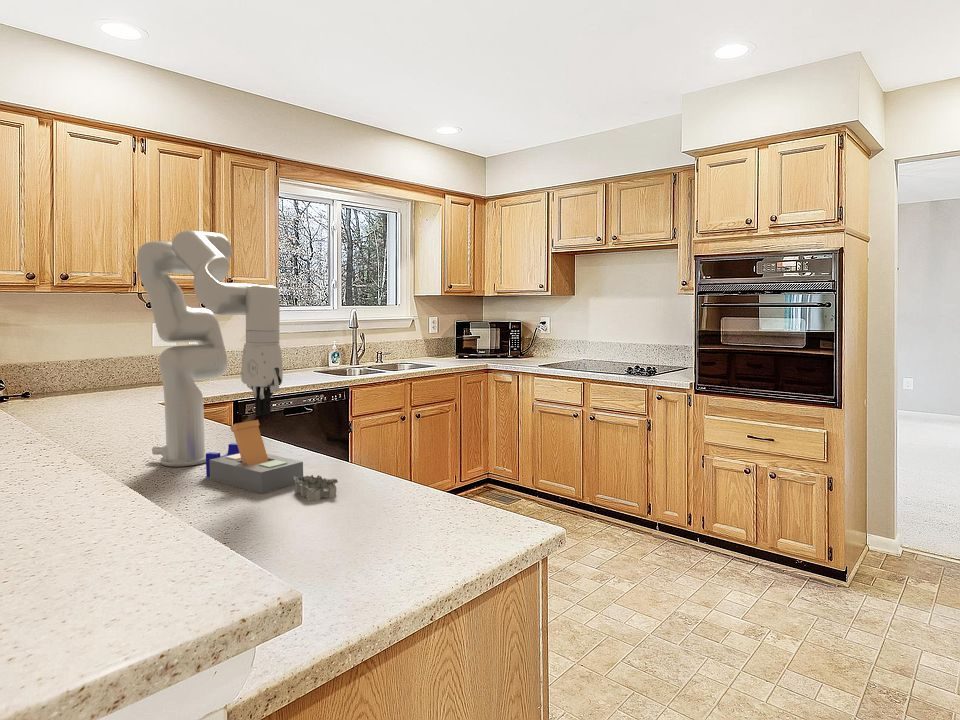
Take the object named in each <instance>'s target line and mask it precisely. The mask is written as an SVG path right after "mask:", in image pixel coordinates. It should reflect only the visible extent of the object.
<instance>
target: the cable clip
mask: <svg viewBox="0 0 960 720" xmlns="http://www.w3.org/2000/svg"><path fill="white" fill-rule="evenodd" d="M205 453H206V462H205V469H206V470H205V472H206V473H205V474H206V475H205V477H206V478H210V464H209V460H210V459H215V458H219V457H224V456H229V455H233V454H238V453H240V452H239V449H238V446H237V442H236V443H235V442H232V443H229V444H228V449H227V453H225V454H223V455H221V452H211V451H209V452H205Z"/></svg>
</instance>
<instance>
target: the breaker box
mask: <svg viewBox="0 0 960 720" xmlns="http://www.w3.org/2000/svg"><path fill="white" fill-rule="evenodd" d="M266 454H267V457H268V460H269V461H268V462H264V463H260V464H255V465H248V464H244V463H242V459H241V456H240V453H238V454H233V455H229V456H224V457H219V458H215V459H210V460H209V464H210V477H209V480H210V481H213V482H218V483H221V484H224V485H227V486H231V487H235V488H239V489H243V490H246V491H250V492H253V493H256V494H260V495H263V494H265V493H266V494H267V493H270V492H272V491H276V490H280V489H283V488H287V487H291V486H293V485H294V486H295V480H294V476H295V477H302V476H304V461H302V460H297V459H292V458H287V457H284V456H278V455H273V454H269V453H266Z"/></svg>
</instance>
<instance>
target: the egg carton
mask: <svg viewBox="0 0 960 720" xmlns="http://www.w3.org/2000/svg"><path fill="white" fill-rule="evenodd" d="M294 480H295V484H294V486H295V487H294V489H295V490H294V491H295V493H299V494H300V496H301V497H306V500H308V501H320V500H321V498H322V497H323V498H329V497H330V498H335V496H336V495H337V485H336V484H338V483H339V482H338V479H337V478H325V477H324V478H323V477H322V475H319V474H318V475H317V476H316V477H315V476H314V475H313V474H311V475H305V476H304V475H303V476H302V477H295V476H294ZM319 488H320V489H319Z"/></svg>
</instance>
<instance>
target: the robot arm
mask: <svg viewBox="0 0 960 720" xmlns="http://www.w3.org/2000/svg"><path fill="white" fill-rule="evenodd" d="M232 250H233V248H232V245H231V242H230V241H229V239H228V238H227V237H226V236H225V235H223V234H221V233H218V232H210V231H200V230H184V231H180V232H178V233H177V234H176V235H174V236H173V238H172V241H166V240H165V241H164V240H155V241H154V240H153V241H148V242H145V243H143V244H142V245H141V246H140V247H139V249H138V250H137V254H136V268H137V273H138V276H139V278H140V281H141V283H142V285H143V287H144V289H145V291H146V293H147V296H148V299H149V302H150V307H151V311H152V315H153V319H154V323H155V327H156V330H157V331H156V332H157V333H158V336H159V338H160V340H162V341H163V342H166V343H171V344H172V343H176V344H177V343H197V344H195V345H194V344H192V345H191V344H190V345H189V344H187V345H175V346H172V347H167V348H166V349H164V350H163V351H162V352H161V353H160V355H159V358H158V368H159V372H160V376H161V381H162V387H163V397H164V398H163V400H164V402H163V403H164V421H165V427H164V428H165V445H164V446H153V447H152V448H151V452H152V455H156V456H158V455H161V456H162V457H161V458H160V460H159V461H160V462H159V463H160V465H162V466H165V467H176V468H177V467H193V466H196V465H197V466H198V465H202V464H206V453H207V452H206V446H205V445H206V444H205V415H204V397H203V392H202V391H201V390H200V388H199V387H198V386H197V384H196V383H195V381H199V380H206V379H207V380H208V379H216V378H220V377H222V376H223V375H224V374H225V373H226V372H227V370H228V366H229V365H228V364H229V363H228V355H227V352H226V351H227V350H226V347H225V343H224V339H223V334H222V331H221V327H220V323H219V319H218V318H217V316H216V315H219V316H231V315H232V316H235V315H237V316H239V315H240V316H245V342H244V345H243V349H242V357H241V369H240V370H241V371H240V374H241V382H242V383H243V384H244V385H246V387H247V388H248V389H250V390H252V393H253V394H252V395H253V398H255V400H254V411H255V412H254V414H255V416H256V415H257V416H266V415H271V412H272V411H271V409H272V406H271V404H272V403H271V402H272V401H271V400H272V399H271V398H273V394H274V393H278V392H280V390H281V389H280V385H282V384H283V378H284V376H283V375H284V374H283V373H284V372H283V369H284V368H283V357H282V349H281V345H280V337H281V336H280V321H281V320H280V318H281V317H280V308H281V307H280V290H279V288H278V287H276V286H274V285H266V284H265V285H263V284H262V285H261V284H260V285H259V284H253V283H241V282H240V283H238V282H237V283H236V282H222V281H223V280H224V279H225V278H226V277H227V275H228V273H229V271H230V262H229V261H230V260H231V258H232V253H233V251H232ZM169 274H177V275H193V280H192V281H193V283H192V284H193V290H194V294H195V296H196V298H197V300H198V301H199V302H200V303H201V304H202V305H203V306H204V307H189V306H188V305H187V303H186V300H185V295H184V291H183V290H182V288H181V287H180V285H179V284H178V283H177V282H176V281H175V280H174V279H173V278H171V277H170V275H169ZM215 314H216V315H215Z"/></svg>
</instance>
